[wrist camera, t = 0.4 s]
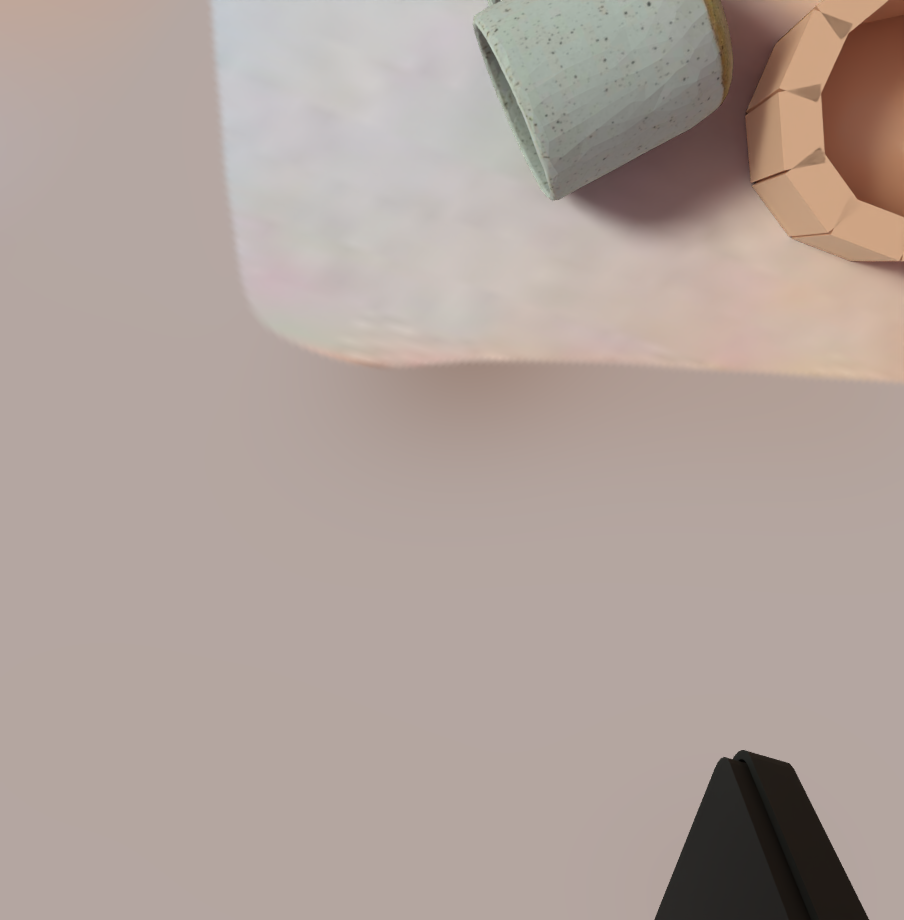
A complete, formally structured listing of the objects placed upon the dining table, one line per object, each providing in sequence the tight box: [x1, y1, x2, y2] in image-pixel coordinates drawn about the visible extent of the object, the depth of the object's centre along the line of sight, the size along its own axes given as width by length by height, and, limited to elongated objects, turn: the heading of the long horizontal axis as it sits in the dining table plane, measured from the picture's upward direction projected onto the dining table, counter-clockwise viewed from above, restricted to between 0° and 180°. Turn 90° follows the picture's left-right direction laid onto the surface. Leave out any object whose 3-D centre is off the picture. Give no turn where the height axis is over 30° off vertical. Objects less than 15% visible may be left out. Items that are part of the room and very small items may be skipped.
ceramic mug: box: [473, 0, 733, 200], centre depth 31 cm, size 11×8×8 cm
